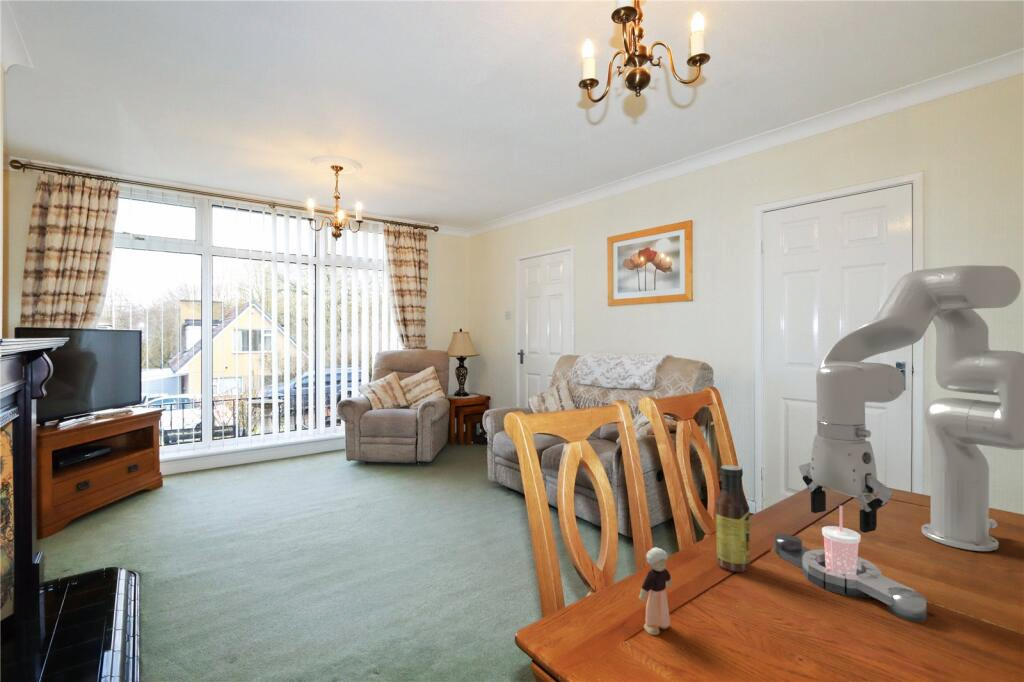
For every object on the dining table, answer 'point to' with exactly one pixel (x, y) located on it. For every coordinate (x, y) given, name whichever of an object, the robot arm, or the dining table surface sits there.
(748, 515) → the sauce bottle
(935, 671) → the dining table surface
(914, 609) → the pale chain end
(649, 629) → the grandmother figurine
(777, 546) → the dark grey ring piece
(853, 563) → the beverage cup
